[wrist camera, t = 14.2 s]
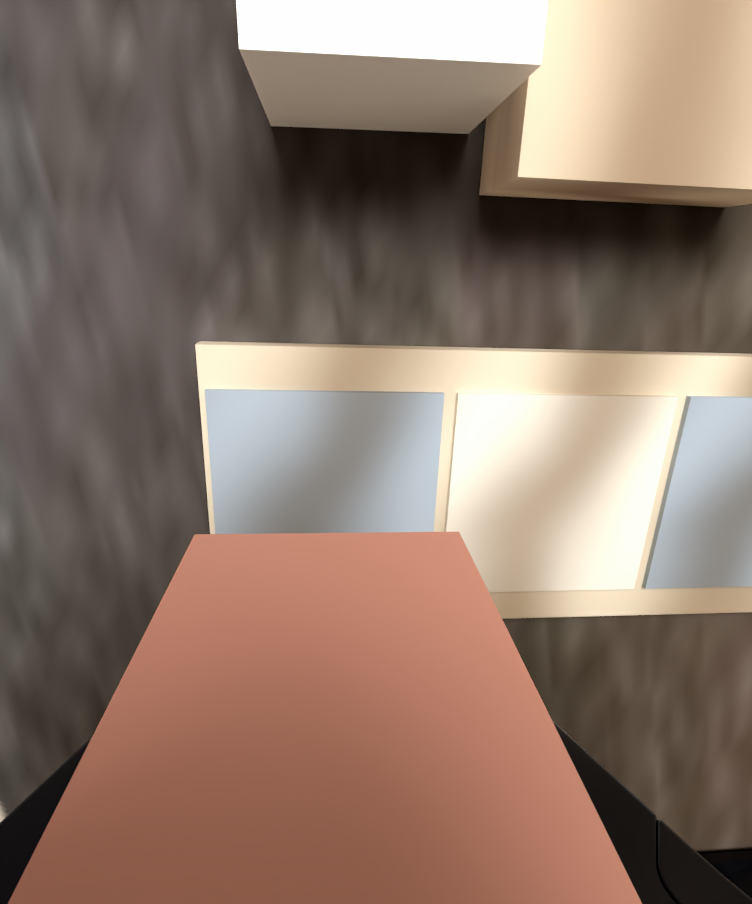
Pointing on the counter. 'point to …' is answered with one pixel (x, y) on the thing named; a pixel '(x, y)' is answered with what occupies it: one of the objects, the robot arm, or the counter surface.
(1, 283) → the counter surface
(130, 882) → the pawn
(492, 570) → the board
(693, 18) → the block
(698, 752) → the counter surface
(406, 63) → the die
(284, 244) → the counter surface
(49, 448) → the counter surface
